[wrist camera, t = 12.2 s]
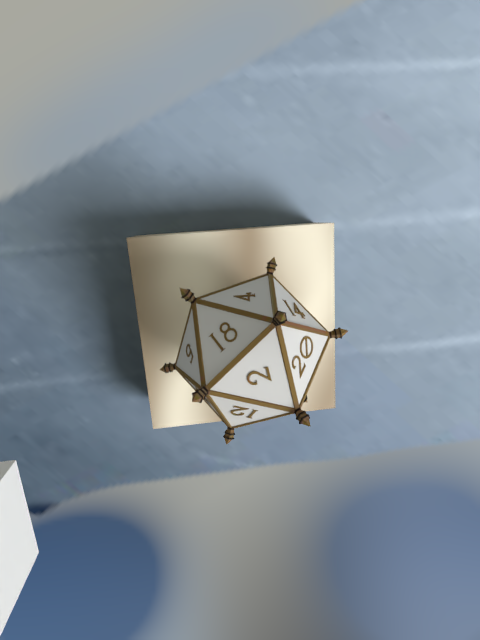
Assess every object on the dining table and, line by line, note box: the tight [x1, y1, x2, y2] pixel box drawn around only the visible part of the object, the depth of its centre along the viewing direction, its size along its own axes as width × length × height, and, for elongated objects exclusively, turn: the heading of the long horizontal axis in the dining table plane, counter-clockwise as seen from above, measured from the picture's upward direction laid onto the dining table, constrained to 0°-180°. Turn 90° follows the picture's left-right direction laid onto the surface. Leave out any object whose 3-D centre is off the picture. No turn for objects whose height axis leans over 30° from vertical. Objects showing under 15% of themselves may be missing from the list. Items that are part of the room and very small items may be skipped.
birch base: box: [127, 223, 335, 429], centre depth 26 cm, size 12×12×4 cm
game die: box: [160, 257, 348, 444], centre depth 20 cm, size 9×8×10 cm
